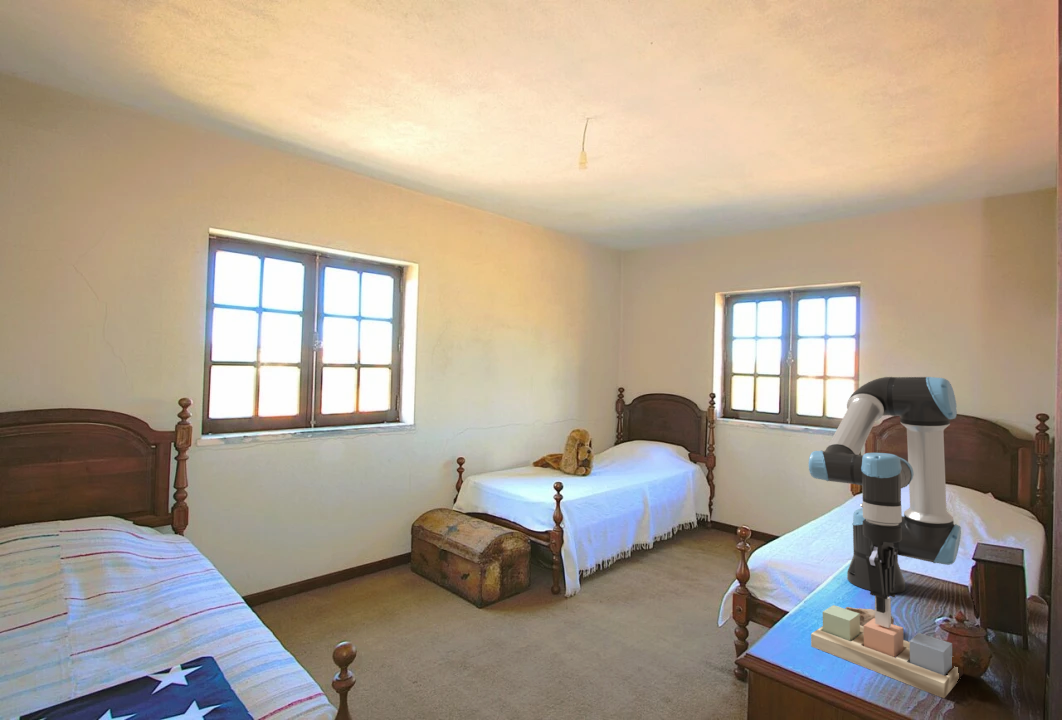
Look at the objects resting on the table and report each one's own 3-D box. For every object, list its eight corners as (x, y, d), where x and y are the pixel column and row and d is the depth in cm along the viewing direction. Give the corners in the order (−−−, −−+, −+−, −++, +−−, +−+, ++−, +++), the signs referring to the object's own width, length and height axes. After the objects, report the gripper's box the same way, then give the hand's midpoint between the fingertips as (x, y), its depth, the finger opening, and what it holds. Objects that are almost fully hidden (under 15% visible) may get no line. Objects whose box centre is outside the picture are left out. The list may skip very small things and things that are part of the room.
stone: (883, 640, 131) (883, 620, 131) (838, 621, 141) (838, 602, 141) (903, 632, 135) (903, 612, 135) (858, 614, 145) (858, 596, 145)
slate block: (919, 655, 119) (918, 632, 119) (952, 666, 114) (952, 643, 114) (909, 664, 115) (909, 641, 115) (943, 676, 111) (943, 652, 111)
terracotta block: (873, 639, 126) (873, 618, 126) (903, 649, 121) (903, 627, 122) (863, 647, 122) (863, 625, 123) (894, 658, 118) (893, 635, 118)
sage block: (833, 625, 133) (833, 605, 133) (859, 634, 128) (859, 613, 129) (822, 632, 130) (822, 611, 130) (849, 642, 125) (849, 620, 125)
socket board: (836, 629, 136) (836, 617, 136) (963, 674, 116) (963, 660, 116) (811, 646, 128) (811, 633, 128) (944, 698, 107) (943, 683, 107)
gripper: (874, 513, 130) (875, 611, 129) (852, 522, 122) (853, 627, 121) (910, 520, 124) (912, 622, 123) (890, 530, 116) (891, 640, 115)
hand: (883, 624), depth 122 cm, fingers closed
